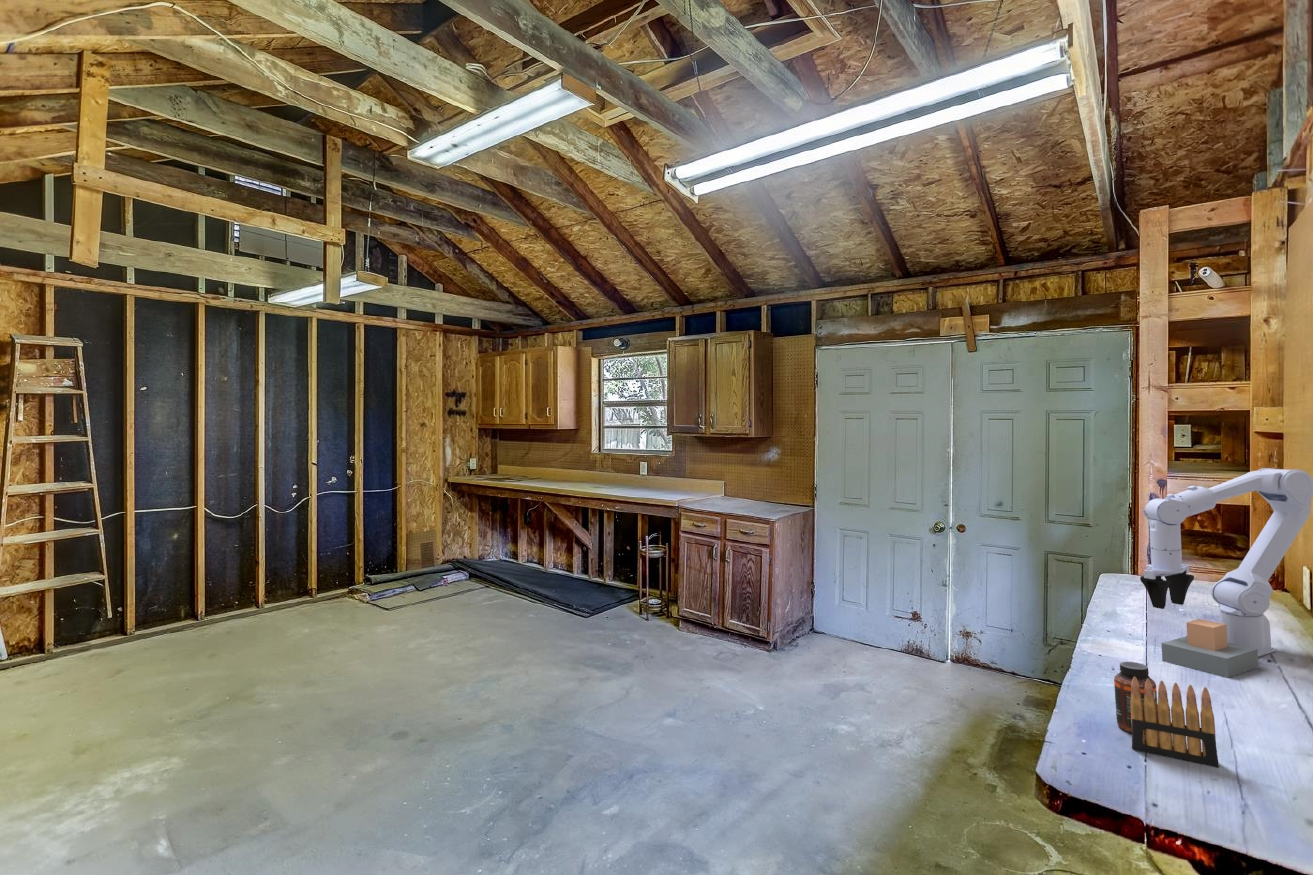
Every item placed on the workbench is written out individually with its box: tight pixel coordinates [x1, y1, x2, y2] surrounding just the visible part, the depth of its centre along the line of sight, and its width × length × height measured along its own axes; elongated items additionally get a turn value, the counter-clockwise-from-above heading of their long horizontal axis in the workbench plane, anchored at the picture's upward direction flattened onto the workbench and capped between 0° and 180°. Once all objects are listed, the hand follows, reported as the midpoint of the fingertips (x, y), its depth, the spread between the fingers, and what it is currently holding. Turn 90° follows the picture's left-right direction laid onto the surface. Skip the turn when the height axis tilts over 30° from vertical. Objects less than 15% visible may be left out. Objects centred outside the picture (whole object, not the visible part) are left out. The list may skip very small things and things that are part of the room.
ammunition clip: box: [1130, 676, 1220, 769], centre depth 99 cm, size 11×2×12 cm, turn 52°
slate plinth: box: [1161, 635, 1260, 678], centre depth 136 cm, size 12×12×4 cm
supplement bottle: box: [1113, 661, 1159, 734], centre depth 108 cm, size 6×6×11 cm
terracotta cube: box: [1186, 618, 1228, 651], centre depth 137 cm, size 5×5×5 cm
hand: (1168, 605), depth 147 cm, fingers open, 7 cm apart
